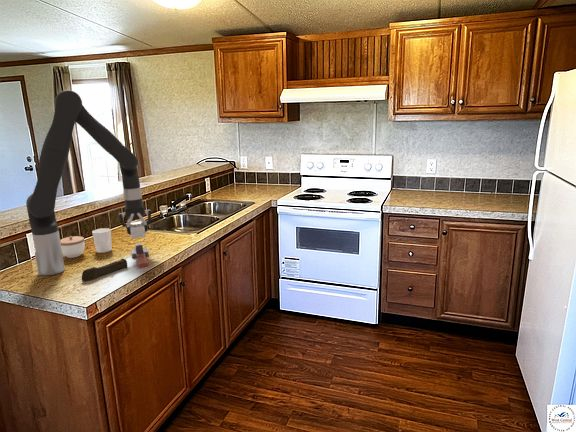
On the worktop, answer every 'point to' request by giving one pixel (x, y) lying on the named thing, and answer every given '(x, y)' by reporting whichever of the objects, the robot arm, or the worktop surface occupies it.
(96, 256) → the worktop surface
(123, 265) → the hand tool
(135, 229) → the white cube
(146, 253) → the red grey toy vehicle
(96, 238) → the white cup
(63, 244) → the lidded jar
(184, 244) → the worktop surface
